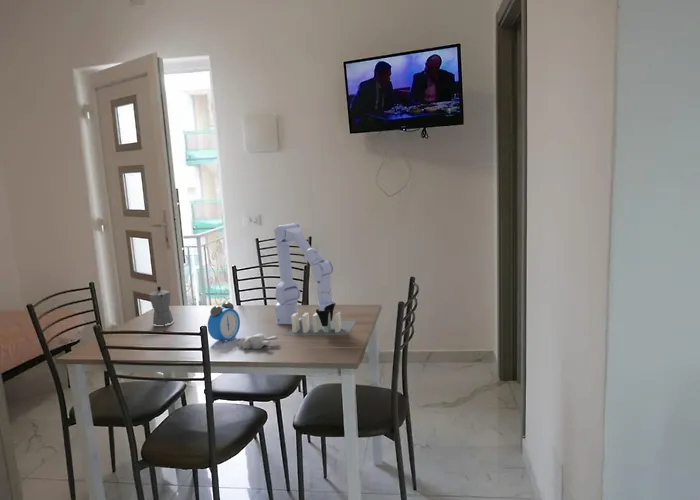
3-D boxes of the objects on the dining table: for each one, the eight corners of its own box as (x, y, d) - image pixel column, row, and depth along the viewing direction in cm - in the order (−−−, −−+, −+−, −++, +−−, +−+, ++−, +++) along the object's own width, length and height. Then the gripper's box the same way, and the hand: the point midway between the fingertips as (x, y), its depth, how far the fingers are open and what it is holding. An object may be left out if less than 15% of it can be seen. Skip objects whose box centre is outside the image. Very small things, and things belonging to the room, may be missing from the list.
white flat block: (335, 332, 221) (333, 315, 220) (337, 328, 226) (336, 312, 225) (339, 332, 221) (337, 315, 220) (341, 328, 226) (340, 312, 225)
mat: (284, 336, 222) (284, 335, 222) (298, 322, 241) (298, 321, 240) (347, 335, 217) (347, 334, 217) (356, 321, 235) (356, 321, 235)
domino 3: (313, 332, 223) (312, 315, 222) (316, 328, 228) (315, 312, 227) (317, 332, 223) (316, 315, 222) (320, 328, 228) (319, 312, 227)
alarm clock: (220, 345, 216) (216, 308, 214) (208, 344, 219) (204, 307, 217) (242, 335, 227) (238, 300, 225) (230, 334, 230) (226, 299, 228)
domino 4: (324, 332, 222) (323, 315, 221) (327, 328, 227) (326, 312, 226) (328, 332, 222) (326, 315, 221) (331, 328, 227) (329, 312, 226)
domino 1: (292, 332, 225) (291, 316, 224) (296, 328, 230) (294, 312, 229) (296, 332, 225) (294, 316, 224) (299, 328, 230) (298, 312, 228)
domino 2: (303, 332, 224) (301, 316, 223) (306, 328, 229) (305, 312, 228) (306, 332, 224) (305, 315, 223) (310, 328, 229) (308, 312, 228)
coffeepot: (176, 325, 250) (171, 287, 248) (154, 329, 246) (149, 290, 244) (171, 318, 264) (166, 281, 261) (150, 322, 260) (145, 285, 257)
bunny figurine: (245, 333, 217) (278, 330, 212) (248, 345, 218) (281, 342, 212) (232, 340, 209) (266, 337, 203) (235, 353, 209) (269, 351, 204)
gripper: (329, 295, 214) (332, 328, 216) (338, 286, 228) (340, 318, 230) (312, 295, 216) (315, 328, 218) (321, 287, 230) (324, 318, 232)
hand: (327, 323), depth 224 cm, fingers open, 7 cm apart
